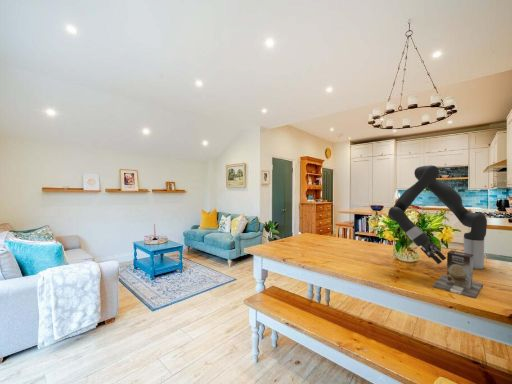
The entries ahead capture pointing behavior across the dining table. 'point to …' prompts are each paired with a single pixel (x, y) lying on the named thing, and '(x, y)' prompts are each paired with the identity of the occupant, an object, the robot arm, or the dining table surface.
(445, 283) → the grey white flat rectangle
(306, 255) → the dining table surface
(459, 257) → the coffee box
